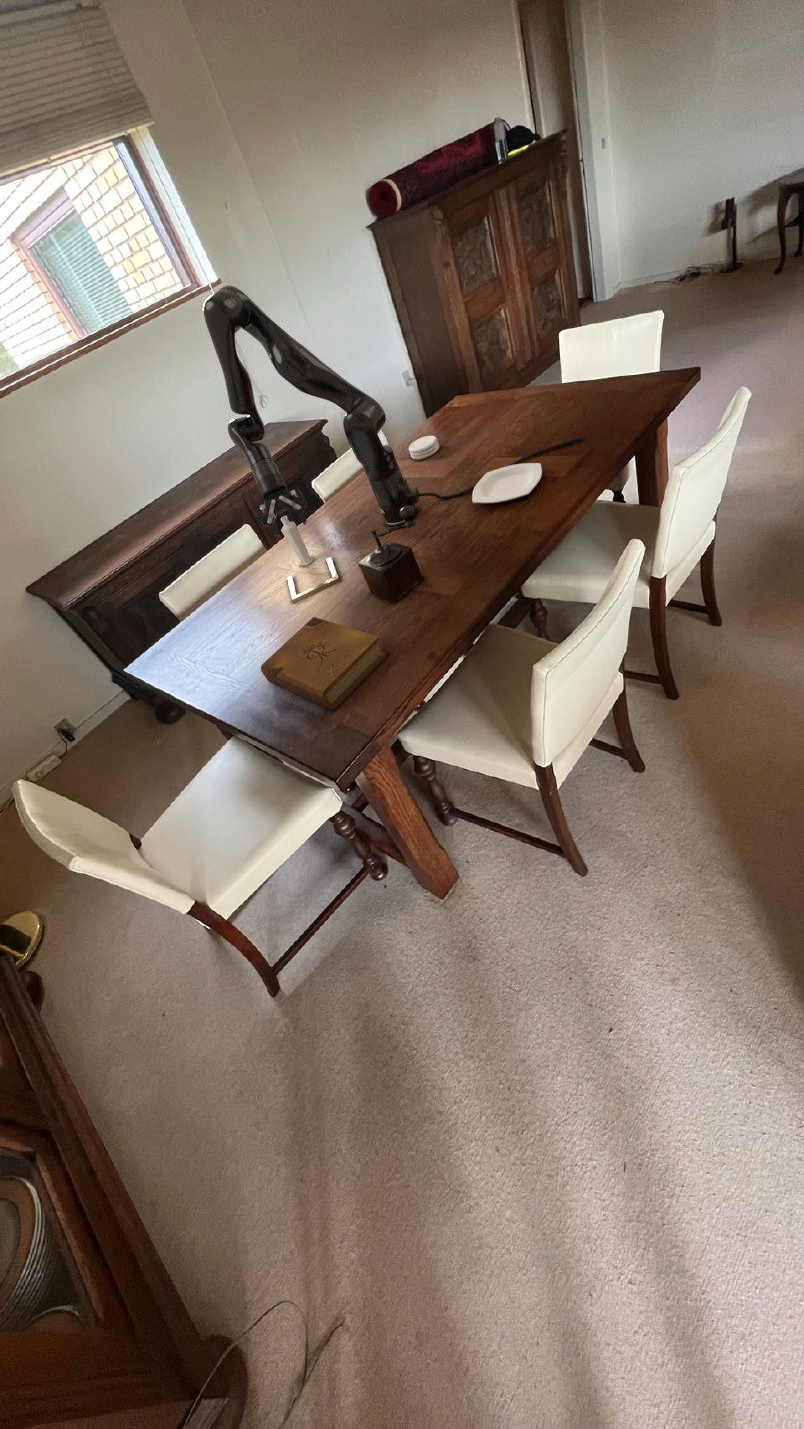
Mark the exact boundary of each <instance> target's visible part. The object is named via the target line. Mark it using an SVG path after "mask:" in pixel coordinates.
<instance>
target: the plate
mask: <svg viewBox="0 0 804 1429" xmlns="http://www.w3.org/2000/svg"><path fill="white" fill-rule="evenodd" d="M509 465H510V464H509ZM542 469H543V468H542V463H540V462H525V463H518V464H515V465H510V466H508V465H506V466H503V467H500V468H497V469H493V470H490V471H487V472H486V473H485V474H484V475H483V476H482V477H481V478H480V480H479V481H478V482H477V483H476V484H475V485H476V486H475V485H474V486H475V487H474V489H473V490H472V494H471V498H472V499H471V500H472V504H497V503H504V502H509V501H512V500H516V499H520V498H522V497H525V496H529V494H530V493H531V492H532V491H533V490H534V489H535V487H536V486H537V485H538V484H539V483H540V480H541V478H542V475H543V470H542Z"/></svg>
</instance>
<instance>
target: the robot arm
mask: <svg viewBox="0 0 804 1429" xmlns="http://www.w3.org/2000/svg"><path fill="white" fill-rule="evenodd" d="M202 313H203V317H204V321H205V325H206V328H207V331H208V333H209V336H210V339H211V342H212V345H213V347H214V348H213V349H214V350H215V354H216V357H217V359H218V362H219V365H220V368H221V371H222V374H223V377H224V383H225V387H226V392H227V398H228V403H229V404H228V405H229V407H230V410H231V411H232V412H233V413H234V414H236V415H244V416H242V417H237V418H234V419H231V420H230V421H229V422H228V424H227V434H228V436H229V437H230V440H231V441H232V443H234V445H235V446H236V447H237V449H238V450H239V451H240V452H241V453H242V454H243V456H244V458H245V459H246V462H247V463H248V465H249V468H250V470H251V473H252V475H253V479H254V481H255V483H256V485H257V488H258V490H259V493H260V495H261V496H262V499H263V504H260V505H258V504H256V505H255V512H256V514H257V516H258V519H259V521H260V524H261V525H262V527H264V528H267V527H269V528H270V530H271V533H272V534H273V536H275V537H276V538H279V537H281V536H280V533H279V531H278V529H277V527H276V525H275V521H276V519H277V516H278V515H281V514H282V513H284V512H287V511H289V509H292V510H294V511H296V512H297V513H298V516H299V518H300V520H301V522H302V524H303V525H304V526H305V525H307V522H308V519H307V516H306V513H305V512H304V510H305V509H307V508H308V507H309V505H308V503H307V501H306V499H305V497H304V495H303V493H302V492H301V490H300V487H298V486H294V487H293V489H292V490H290V491H289V490H288V487H287V485H286V482H285V481H284V478H283V476H282V473H281V471H280V469H279V467H278V466H277V464H276V462H275V460H274V458H273V456H272V454H271V451H270V449H269V447H268V446H267V445H266V444H265V443H262V442H261V441H262V440H264V438H265V436H266V431H267V430H266V426H265V423H264V421H263V419H262V416H261V415H260V412H259V411H258V408H257V404H256V400H255V394H254V389H253V383H252V379H251V376H250V374H249V372H248V370H247V368H246V367H245V365H244V364H243V363H242V361H241V359H240V357H239V355H238V351H237V347H236V346H237V345H236V333H237V332H239V331H240V330H241V329H242V330H243V331H245V332H247V333H248V334H249V335H250V336H251V337H253V338H254V339H255V340H256V341H257V342H259V344H260V345H261V346H262V347H263V349H264V351H265V353H266V355H267V356H268V359H269V360H270V362H271V364H272V366H273V368H274V370H275V371H276V373H277V374H278V375H279V376H280V377H282V378H283V380H285V381H286V382H288V383H289V384H290V385H291V386H293V387H294V388H295V389H297V390H298V391H300V392H301V393H304V394H306V395H309V396H312V397H315V398H318V399H322V400H326V401H329V402H330V403H332V404H335V405H336V406H338V407H339V408H340V409H342V410H343V411H344V412H345V413H346V414H344V417H343V419H342V427H343V431H344V435H345V437H346V439H347V442H348V444H349V446H350V448H351V450H352V452H353V454H354V456H355V458H356V460H357V461H358V462H359V463H360V465H361V466H362V468H363V471H364V473H365V476H366V478H367V480H368V482H369V484H370V487H371V489H372V493H373V495H374V497H375V500H376V501H377V504H378V506H379V507H378V509H379V511H380V513H381V514H382V516H383V519H384V522H385V524H386V525H387V526H389V527H395V526H400V525H404V519H403V518H402V517H401V516H400V510H401V509H402V508H403V507H405V506H412V507H414V508H415V510H416V511H417V506H416V504H418V503H419V499H420V497H435V498H437V499H439V500H447V499H453V498H456V497H460V496H462V495H464V494H467V493H469V492H471V491H473V490H474V487H475V486H476V484H475V485H473V486H471V487H469V488H467V489H464V490H462V491H460V492H457V493H454V494H450V495H440V494H438V493H435V492H420V491H419V489H418V487H417V486H416V487H411V488H410V486H409V484H408V481H407V479H405V478H404V477H403V474H402V472H401V468H400V466H399V463H398V460H397V458H396V455H395V453H394V450H393V448H392V446H390V445H387V444H383V442H382V441H381V438H380V436H379V433H380V432H381V431H382V429H383V428H384V426H385V425H386V421H387V418H386V417H387V415H386V412H385V410H384V408H383V407H382V406H381V404H380V403H379V402H378V401H377V400H376V399H375V398H373V397H372V396H370V395H369V394H368V393H366V392H364V391H362V390H361V389H360V388H357V387H356V386H355V385H353V384H352V383H350V382H349V381H348V380H346V379H345V378H344V377H342V376H341V375H340V374H339V373H337V372H336V371H335V370H333V369H332V368H331V367H330V366H328V364H326V363H324V362H323V361H322V360H321V359H319V357H318V356H316V355H315V354H314V353H313V352H312V351H310V350H309V349H308V348H307V347H305V345H303V344H302V343H301V342H300V341H298V340H296V339H295V338H294V337H293V336H291V335H290V334H289V333H288V332H287V331H286V330H284V328H282V327H281V326H280V325H279V324H277V323H276V322H275V321H274V320H273V319H271V317H269V316H268V315H267V314H266V313H265V311H263V310H262V308H260V307H259V305H257V304H256V303H255V302H254V301H253V300H252V299H251V297H249V296H248V295H247V294H246V293H245V292H243V291H242V290H241V289H240V288H238V287H237V286H233V285H230V284H229V285H224V286H222V287H220V288H219V289H217V291H215V292H214V293H212V294H211V295H210V296H208V298H206V299H205V301H204V303H203V308H202ZM259 441H260V442H261V443H260V442H259ZM579 441H581V437H577V438H573V439H570V440H566V441H562V442H558V443H556V444H554V445H550V446H548V447H545V448H542V449H540V450H539V449H538V450H536V451H535V452H532V453H529V454H527V455H526V456H525V455H524V456H523V457H521V458H519V459H517V460H516V461H513V462H511V463H510V464H508V465H507V466H510V465H515V464H521V462H523V461H525V460H527V459H530V458H532V457H535V456H537V455H539V454H542V453H545V452H547V451H551V450H553V449H557V448H559V447H562V446H566V445H569V444H572V443H576V442H579ZM293 496H294V497H295V498H298V500H299V502H300V504H298V503H296V502H295V501H293ZM266 510H268V517H267V520H266V517H265V512H266Z"/></svg>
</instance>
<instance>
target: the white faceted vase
mask: <svg viewBox="0 0 804 1429" xmlns="http://www.w3.org/2000/svg"><path fill="white" fill-rule="evenodd" d="M280 521H281V523H282V524H283V526H282V528H281V529H280V531H281V533H282V534H283V536H284V538H285V539H286V540H287V542H288V544H289V545H290V547H291V549H292V550H293V552H294V554H295V555H296V556H297V558H298V559H299V561H300V565H301V566H303V567H304V566H309V565H310V564H311V563H312V562H314V559H313V557H311V556H310V554H309V551H308V549H307V547H306V544H305V542H304V540H303V538H302V536H301V533H300V531H299V528H298V526H297V524H296V523H295V522H294V521H293V520H292V521H290V520H289V518H288V516H287V515H284V516H282V517H280Z"/></svg>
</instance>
